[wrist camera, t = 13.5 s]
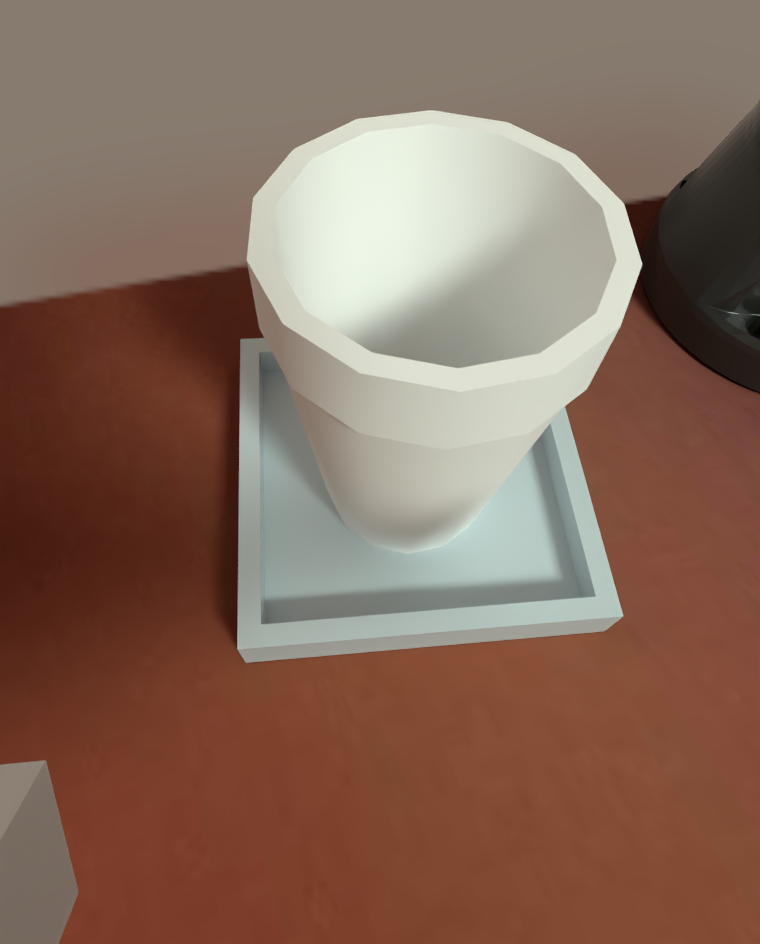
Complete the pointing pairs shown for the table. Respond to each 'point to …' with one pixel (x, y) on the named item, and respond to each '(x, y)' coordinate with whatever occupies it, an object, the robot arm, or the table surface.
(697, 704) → the table surface
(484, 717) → the table surface
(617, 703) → the table surface
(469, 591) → the dish
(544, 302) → the foam cup
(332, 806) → the table surface
